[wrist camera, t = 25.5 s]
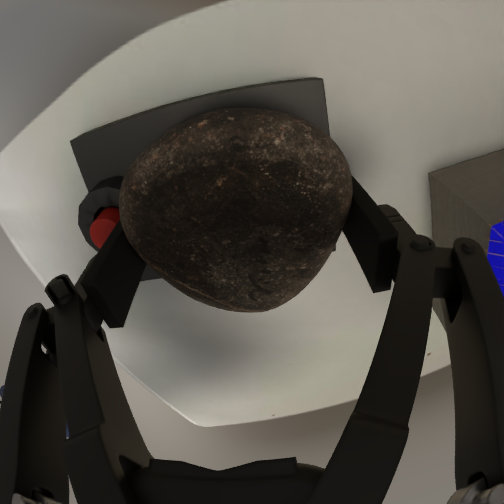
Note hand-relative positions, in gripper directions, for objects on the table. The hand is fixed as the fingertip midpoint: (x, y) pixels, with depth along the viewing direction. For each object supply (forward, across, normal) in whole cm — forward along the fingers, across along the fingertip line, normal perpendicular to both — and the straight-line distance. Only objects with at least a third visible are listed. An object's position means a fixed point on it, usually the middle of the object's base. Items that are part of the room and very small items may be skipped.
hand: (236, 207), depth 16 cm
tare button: (+1, -8, 0) cm, 8 cm away
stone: (+1, 0, 0) cm, 1 cm away
